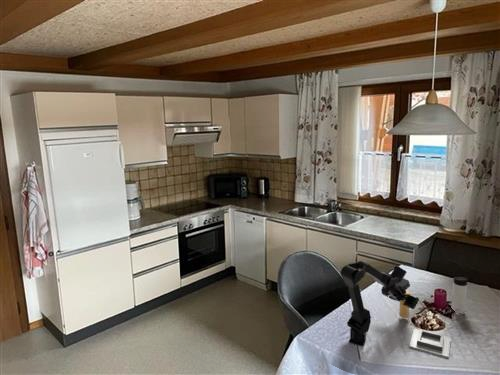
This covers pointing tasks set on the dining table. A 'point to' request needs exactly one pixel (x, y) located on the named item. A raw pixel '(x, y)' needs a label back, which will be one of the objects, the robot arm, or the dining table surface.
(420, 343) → the socket
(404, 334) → the dining table surface
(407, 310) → the rounded tan peg
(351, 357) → the dining table surface
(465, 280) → the travel mug
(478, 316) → the dining table surface
